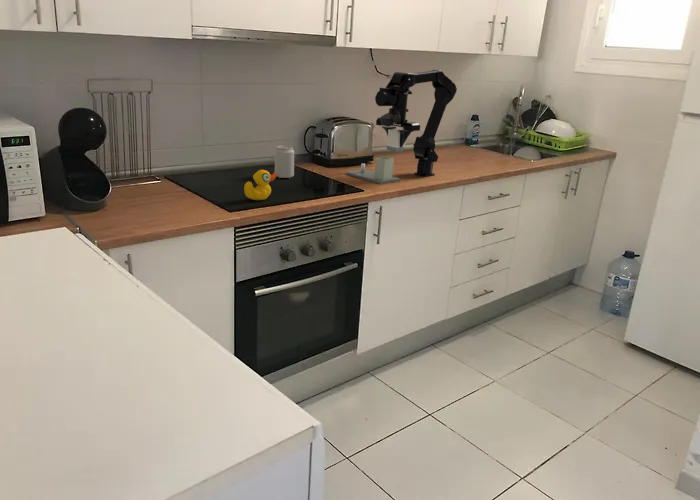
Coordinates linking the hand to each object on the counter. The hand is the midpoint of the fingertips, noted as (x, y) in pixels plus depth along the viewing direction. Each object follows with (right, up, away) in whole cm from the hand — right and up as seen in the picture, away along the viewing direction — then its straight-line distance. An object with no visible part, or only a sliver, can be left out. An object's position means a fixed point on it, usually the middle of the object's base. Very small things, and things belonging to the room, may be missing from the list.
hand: (395, 146), depth 232 cm
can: (-44, -13, -4) cm, 46 cm away
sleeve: (0, -2, +1) cm, 2 cm away
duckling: (-48, -25, -37) cm, 66 cm away
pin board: (-9, -12, +4) cm, 16 cm away
